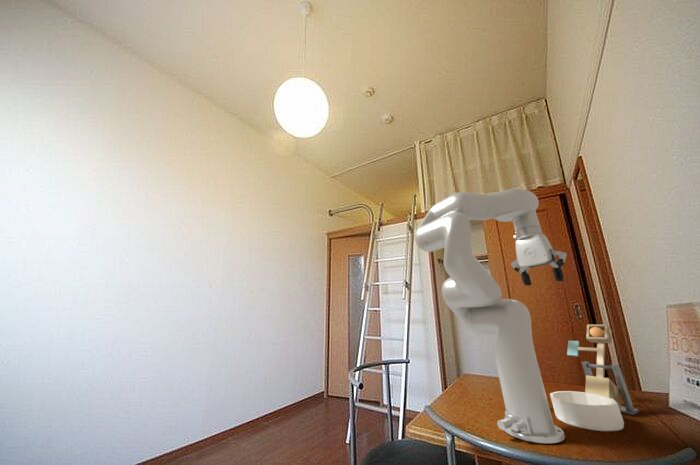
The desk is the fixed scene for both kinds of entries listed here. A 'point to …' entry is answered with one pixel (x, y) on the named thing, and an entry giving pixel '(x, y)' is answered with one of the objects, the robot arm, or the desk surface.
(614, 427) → the bowl
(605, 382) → the lever
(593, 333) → the ball
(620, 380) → the pivot stand
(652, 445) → the desk surface
